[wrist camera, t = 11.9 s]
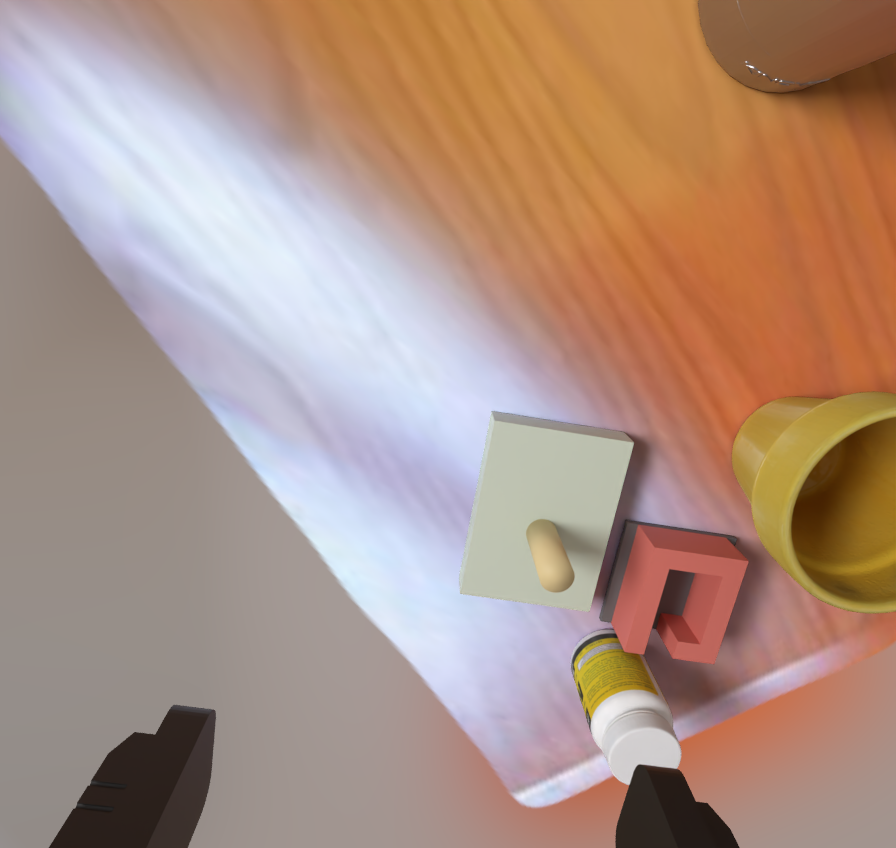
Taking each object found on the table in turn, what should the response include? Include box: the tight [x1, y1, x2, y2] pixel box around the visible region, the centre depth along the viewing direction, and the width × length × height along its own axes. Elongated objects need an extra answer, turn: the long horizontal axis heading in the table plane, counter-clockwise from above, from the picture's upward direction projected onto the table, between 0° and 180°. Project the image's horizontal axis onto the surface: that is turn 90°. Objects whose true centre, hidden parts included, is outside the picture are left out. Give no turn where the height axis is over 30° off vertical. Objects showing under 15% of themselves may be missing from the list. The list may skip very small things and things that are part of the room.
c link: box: [611, 524, 749, 664], centre depth 39 cm, size 7×6×3 cm
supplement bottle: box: [571, 629, 681, 785], centre depth 38 cm, size 5×5×8 cm
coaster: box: [599, 520, 737, 629], centre depth 40 cm, size 7×7×1 cm
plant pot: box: [732, 392, 896, 613], centre depth 33 cm, size 10×10×10 cm
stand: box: [459, 411, 634, 612], centre depth 35 cm, size 11×8×7 cm
